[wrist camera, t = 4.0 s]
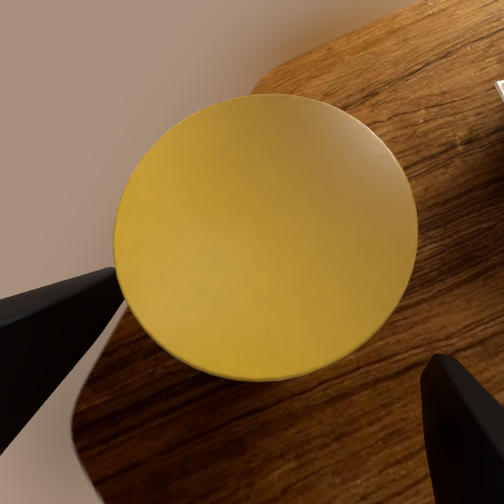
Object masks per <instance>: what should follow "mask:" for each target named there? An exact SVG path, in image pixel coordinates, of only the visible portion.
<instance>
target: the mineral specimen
mask: <svg viewBox="0 0 504 504" xmlns="http://www.w3.org/2000/svg"><path fill="white" fill-rule="evenodd" d="M494 85H495V87H496V89H497V91H498V93H499V95H500V97H501V99H502V100H503V102H504V80H502V81H496V82H495V83H494Z"/></svg>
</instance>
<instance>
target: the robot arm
mask: <svg viewBox="0 0 504 504" xmlns="http://www.w3.org/2000/svg"><path fill="white" fill-rule="evenodd" d="M124 300H125V298H124V296H123V294H122V291H121V288H120V285H119V282H118V279H117V274H116V269H115V268H114V267H108V268H104V269H101V270H98V271H94V272H91V273H88V274H84V275H81V276H78V277H74V278H71V279H68V280H64V281H61V282H57V283H54V284H51V285H47V286H44V287H40V288H37V289H34V290H30V291H27V292H24V293H20V294H17V295H14V296H10V297H7V298H3V299H0V455H1V454H2V453H3V452H4V450H5V449H6V448H7V447H8V446H9V444H10V443H11V442H12V441H13V440H14V438H15V437H16V436H17V435H18V434H19V432H20V431H21V430H22V429H23V427H24V426H25V425H26V424H27V423H28V422H29V420H30V419H31V418H32V417H33V416H34V414H35V413H36V412H37V411H38V410H39V408H40V407H41V406H42V405H43V403H44V402H45V401H46V400H47V399H48V397H49V396H50V395H51V394H52V393H53V392H54V390H55V389H56V388H57V387H58V386H59V384H60V383H61V382H62V381H63V379H64V378H65V377H66V376H67V375H68V374H69V372H70V371H71V370H72V369H73V368H74V366H75V365H76V364H77V363H78V362H79V360H80V359H81V358H82V357H83V356H84V354H85V353H86V352H87V351H88V350H89V348H90V347H91V346H92V345H93V343H94V342H95V341H96V339H97V338H98V337H99V336H100V334H101V333H102V332H103V330H104V329H105V327H106V326H107V324H108V323H109V321H110V320H111V319H112V317H113V316H114V314H115V313H116V311H117V310H118V308H119V306H120V305H121V304H122V302H123V301H124ZM420 386H421V400H422V414H423V428H424V439H425V447H426V454H427V459H428V465H429V470H430V476H431V481H432V486H433V492H434V497H435V503H436V504H504V407H503V406H502V405H501V404H500V403H499V402H498V401H497V400H496V399H495V398H494V397H493V396H492V395H491V394H490V393H489V392H488V391H487V390H486V389H485V388H484V387H483V386H482V385H481V384H480V383H479V382H478V381H477V380H476V379H475V378H474V377H473V376H472V375H471V374H470V373H469V372H468V371H467V370H466V369H465V368H464V367H463V365H462V364H461V363H460V362H459V361H458V360H456V359H455V358H453V357H450V356H447V355H443V354H439V353H438V354H434V355H433V356H432V358H431V359H430V361H429V363H428V364H427V366H426V367H425V369H424V371H423V372H422V375H421V379H420Z"/></svg>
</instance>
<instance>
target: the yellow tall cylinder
mask: <svg viewBox="0 0 504 504" xmlns="http://www.w3.org/2000/svg"><path fill="white" fill-rule="evenodd" d="M417 245H418V221H417V212H416V205H415V201H414V197H413V194H412V190H411V186H410V184H409V182H408V180H407V177H406V175H405V173H404V170H403V168H402V167H401V165H400V164H399V162H398V160H397V159H396V157H395V155H394V154H393V152H392V151H391V150H390V149H389V148H388V146H387V145H386V144H385V143H384V142H383V140H382V139H381V138H380V137H379V136H378V135H376V134H375V133H374V132H373V131H372V130H371V129H370V128H369V127H368V126H366V125H365V124H364V123H362V122H361V121H359V120H358V119H356V118H355V117H354V116H352V115H350V114H348V113H346V112H345V111H343V110H341V109H339V108H337V107H334V106H332V105H329V104H327V103H324V102H322V101H318V100H314V99H310V98H307V97H302V96H295V95H288V94H258V95H249V96H243V97H238V98H233V99H230V100H226V101H223V102H219V103H217V104H214V105H212V106H209V107H207V108H204V109H202V110H200V111H198V112H196V113H195V114H193V115H191V116H189V117H187V118H186V119H185V120H183V121H181V122H180V123H178V124H177V125H175V126H174V127H173V128H171V129H170V130H169V131H168V132H167V133H165V134H164V135H163V136H162V137H161V138H160V139H159V140H158V141H157V142H156V143H155V144H154V145H153V146H152V147H151V148H150V149H149V150H148V151H147V153H146V154H145V156H144V157H143V158H142V159H141V160H140V162H139V163H138V165H137V166H136V168H135V170H134V171H133V173H132V175H131V176H130V178H129V180H128V182H127V184H126V187H125V189H124V191H123V193H122V196H121V199H120V202H119V205H118V208H117V213H116V218H115V224H114V232H113V255H114V264H115V269H116V274H117V279H118V282H119V285H120V288H121V291H122V294H123V296H124V298H125V300H126V302H127V304H128V306H129V308H130V310H131V312H132V314H133V315H134V317H135V318H136V319H137V321H138V322H139V324H140V325H141V326H142V328H143V329H144V331H145V332H146V333H147V334H148V335H149V336H150V337H151V338H152V339H153V340H154V341H155V342H156V343H157V344H158V345H159V346H160V347H162V348H163V349H164V350H166V351H167V352H168V353H169V354H171V355H172V356H173V357H175V358H177V359H178V360H180V361H182V362H184V363H185V364H187V365H189V366H191V367H192V368H195V369H198V370H200V371H203V372H205V373H208V374H210V375H213V376H217V377H222V378H226V379H231V380H235V381H247V382H271V381H283V380H287V379H292V378H297V377H302V376H305V375H308V374H311V373H314V372H316V371H319V370H322V369H325V368H327V367H329V366H331V365H333V364H334V363H336V362H338V361H340V360H342V359H344V358H346V357H347V356H349V355H350V354H351V353H353V352H354V351H355V350H357V349H358V348H360V347H361V346H362V345H364V344H365V343H366V342H367V341H368V340H369V339H370V338H371V337H372V336H373V335H374V334H375V333H376V332H377V331H378V330H379V329H380V328H381V327H382V326H383V325H384V323H385V322H386V321H387V319H388V318H389V317H390V315H391V314H392V313H393V311H394V310H395V309H396V307H397V305H398V303H399V301H400V299H401V298H402V296H403V294H404V292H405V290H406V288H407V285H408V282H409V279H410V277H411V274H412V271H413V268H414V263H415V257H416V252H417Z"/></svg>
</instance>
